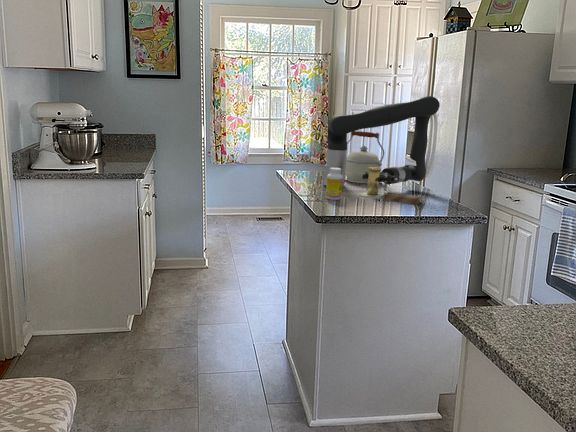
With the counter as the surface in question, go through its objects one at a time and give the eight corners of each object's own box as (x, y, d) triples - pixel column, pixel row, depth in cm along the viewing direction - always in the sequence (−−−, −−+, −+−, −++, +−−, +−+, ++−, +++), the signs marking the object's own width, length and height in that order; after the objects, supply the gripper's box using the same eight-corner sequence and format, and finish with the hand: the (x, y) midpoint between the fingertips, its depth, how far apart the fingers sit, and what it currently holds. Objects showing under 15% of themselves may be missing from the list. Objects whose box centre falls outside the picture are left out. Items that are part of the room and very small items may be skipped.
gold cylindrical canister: (364, 194, 245) (366, 167, 242) (367, 192, 250) (370, 166, 247) (376, 196, 243) (379, 169, 240) (380, 194, 248) (382, 167, 245)
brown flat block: (383, 200, 238) (383, 194, 237) (387, 197, 245) (387, 192, 244) (417, 205, 232) (417, 199, 232) (420, 202, 239) (421, 196, 238)
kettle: (388, 181, 286) (392, 132, 280) (373, 186, 270) (378, 134, 265) (344, 175, 298) (348, 128, 293) (327, 179, 283) (331, 129, 277)
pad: (359, 196, 244) (359, 194, 244) (364, 192, 252) (365, 191, 252) (379, 198, 241) (379, 197, 241) (384, 195, 249) (384, 194, 249)
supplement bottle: (340, 200, 232) (342, 170, 229) (324, 199, 233) (326, 168, 230) (342, 197, 239) (344, 168, 236) (326, 196, 240) (328, 166, 237)
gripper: (381, 164, 258) (358, 167, 247) (407, 169, 248) (384, 171, 237) (380, 181, 260) (357, 183, 249) (405, 186, 250) (383, 189, 239)
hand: (370, 178), depth 243 cm, fingers open, 8 cm apart
